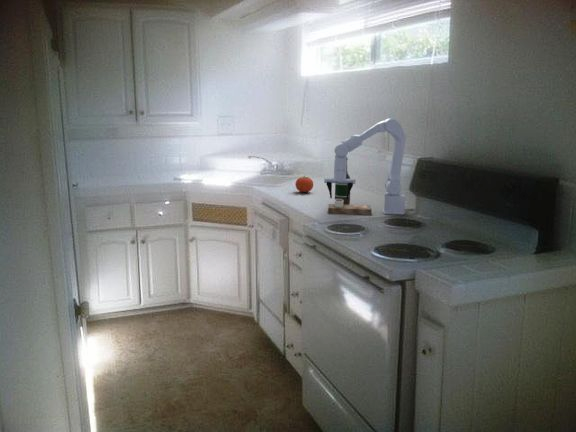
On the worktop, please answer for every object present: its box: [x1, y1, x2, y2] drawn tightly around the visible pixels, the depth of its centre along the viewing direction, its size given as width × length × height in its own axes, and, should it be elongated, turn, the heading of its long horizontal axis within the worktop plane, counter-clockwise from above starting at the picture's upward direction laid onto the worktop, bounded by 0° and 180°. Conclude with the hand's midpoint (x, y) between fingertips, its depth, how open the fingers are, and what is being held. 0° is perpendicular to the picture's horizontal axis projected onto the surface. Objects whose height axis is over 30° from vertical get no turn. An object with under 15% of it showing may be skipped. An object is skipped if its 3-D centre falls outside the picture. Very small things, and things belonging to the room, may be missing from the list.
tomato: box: [295, 175, 314, 193], centre depth 298 cm, size 10×10×10 cm
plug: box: [334, 198, 344, 207], centre depth 248 cm, size 4×4×6 cm
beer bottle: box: [334, 156, 351, 205], centre depth 263 cm, size 8×8×24 cm
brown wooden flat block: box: [327, 203, 373, 216], centre depth 248 cm, size 20×10×3 cm, turn 85°
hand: (339, 198), depth 247 cm, fingers open, 7 cm apart
